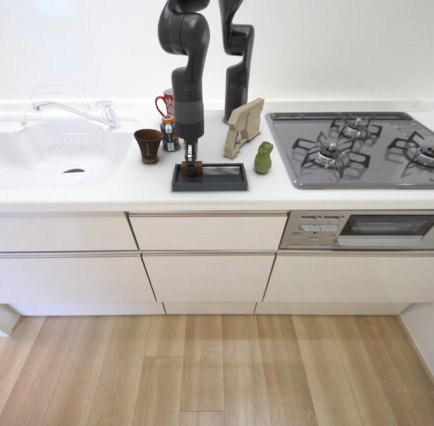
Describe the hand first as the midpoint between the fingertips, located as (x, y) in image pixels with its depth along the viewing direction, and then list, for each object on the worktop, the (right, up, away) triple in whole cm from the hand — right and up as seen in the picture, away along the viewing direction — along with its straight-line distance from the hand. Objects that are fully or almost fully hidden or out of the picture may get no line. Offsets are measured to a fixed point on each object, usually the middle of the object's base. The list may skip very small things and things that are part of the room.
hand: (192, 173), depth 71 cm
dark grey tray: (+5, -2, +2) cm, 6 cm away
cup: (-14, +6, +10) cm, 18 cm away
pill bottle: (-9, +12, +16) cm, 22 cm away
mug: (-10, +26, +30) cm, 41 cm away
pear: (+22, +1, +5) cm, 22 cm away
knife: (+5, 0, 0) cm, 5 cm away
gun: (+18, +14, +18) cm, 29 cm away
